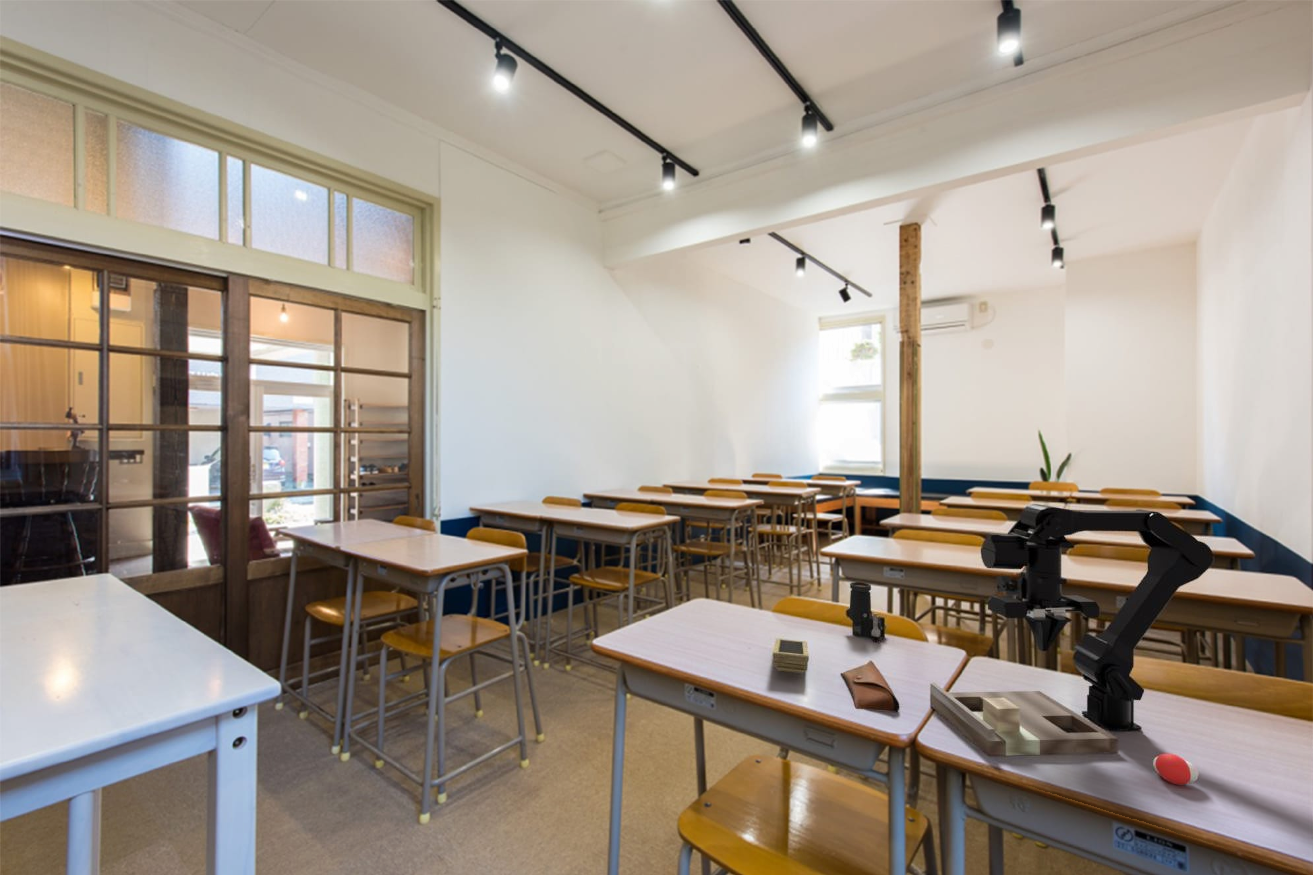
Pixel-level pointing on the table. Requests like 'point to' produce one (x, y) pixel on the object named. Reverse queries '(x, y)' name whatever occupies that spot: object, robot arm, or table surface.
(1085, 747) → the trap box
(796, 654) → the box
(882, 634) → the scope
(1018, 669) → the table surface
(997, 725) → the block
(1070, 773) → the table surface
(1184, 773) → the molecule
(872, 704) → the sunglasses case
